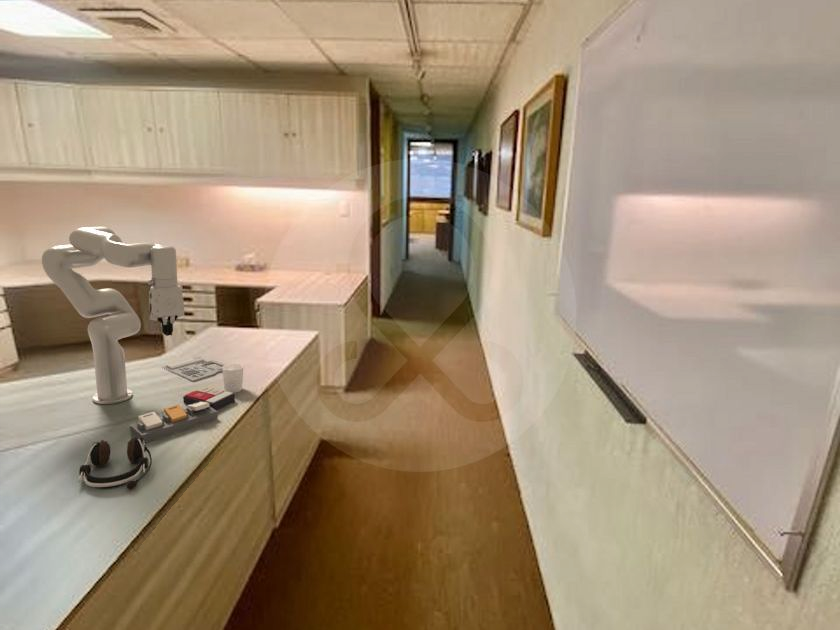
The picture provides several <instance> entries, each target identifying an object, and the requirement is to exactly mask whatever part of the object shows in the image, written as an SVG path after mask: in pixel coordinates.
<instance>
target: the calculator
mask: <svg viewBox="0 0 840 630" xmlns="http://www.w3.org/2000/svg"><path fill="white" fill-rule="evenodd" d="M235 396H236V395H235V393H231V392H227V391H225V390H224V389H218V388H214V387H209V386H203V387H200V388H198V389H196V390H194V391H191V392H189V393H186V394H185V395H184V396H183V397H182V399H183V404H185V403H186V404H185V405H188V404H189V405H191V404H194V403H198V402H207V403H209V404H210V407H211V408H213V409H215V410H216V411H220V410H222V409H224V408H225V407H227V406H230V405H231V404H234V403H235V402H236V397H235Z"/></svg>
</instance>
